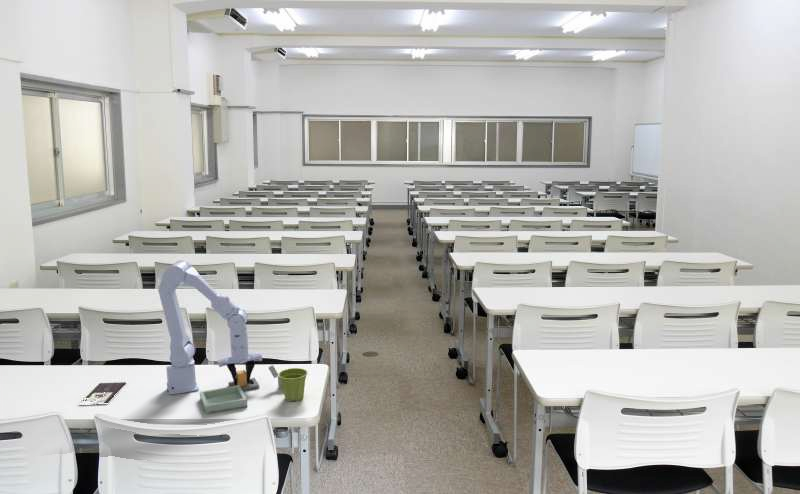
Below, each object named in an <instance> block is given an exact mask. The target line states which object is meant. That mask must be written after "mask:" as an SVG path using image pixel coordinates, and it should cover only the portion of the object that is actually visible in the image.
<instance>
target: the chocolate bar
mask: <svg viewBox="0 0 800 494" xmlns="http://www.w3.org/2000/svg"><path fill="white" fill-rule="evenodd" d="M126 384H127V382H125V381H124V382H122V381H121V382H119V381H118V382H100V383H98V385H96V386H95V387H94V389H93V390H91V391H90V392H89V393H88V394H87V395H86V396H85V398H89V399H88V400H87V399H86V400H85V401H90V402H93V401H96V399H101V400H100V401H99V400H98V401H97V402H96V404H98V403H108V402H109V401H110V400H111V399H112V398H113V397H114V395H115V394H116V393H117V392H118V391H119V390H120V389H121V388H122V387H123V386H126ZM123 388H124V387H123ZM123 388H122V389H123ZM122 389H121V390H122ZM121 390H120V391H121ZM120 391H119V392H120ZM104 392H105V393H104ZM119 392H118V393H119ZM98 393H99V394H98ZM118 393H117V394H118ZM92 394H93V395H92ZM117 394H116V395H117ZM103 395H104V396H103ZM116 395H115V396H116ZM97 396H98V397H97ZM90 398H91V399H90ZM103 398H104V399H103ZM114 398H115V397H114ZM114 398H113V399H114ZM102 399H103V400H102ZM113 399H112V400H113ZM112 400H111V401H112ZM82 401H84V399H82ZM111 401H110V402H111ZM110 402H109V403H110ZM109 403H108V404H109ZM91 404H92V403H91ZM93 404H95V402H94V403H93Z"/></svg>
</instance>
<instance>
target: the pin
mask: <svg viewBox="0 0 800 494" xmlns="http://www.w3.org/2000/svg"><path fill="white" fill-rule="evenodd" d="M236 379H237V385H240V386H246V385H248V384H247V376H246V369H242V370H241V369H240V370H236ZM237 385H236V386H237Z"/></svg>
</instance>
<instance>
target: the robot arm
mask: <svg viewBox="0 0 800 494" xmlns="http://www.w3.org/2000/svg"><path fill="white" fill-rule="evenodd" d="M161 275H162V277H161V279H160V283H159V285H158V294H159V298H160V303H161V306H162V310H163V313H164V318H165V322H166V324H167V329H168V333H169V336H170V343H169V349H170V355H169V361H170V363H171V364H170V365H167V366H166V368H165V369H166V378H167V379H166V381H167V382H166V386H167V387H166V388H167V389H168V394H169V395H176V394H183V393H184V394H186V393H190V392H196V391H199V390H200V389H199V386H198V383H197V377H196V366H195V365H196V364H195V360H194V357H193V356H195V353H196V346H195V344H194V343H193V342H192V341H191V338H190V336H189V335H188V334H187V332H186V327H185V324H184V320H183V316H182V311H181V308H180V304H179V301H178V296H177V295H178V294H177V292H176V290H177V289H178V288H179V286H180V285H181V283H182V286H184V287H185V286H187V287H188V286H189V287H194V288H195V290H197V291H198V292H199V293H201V294H202V295H203V296H204V297H205V298H206V299H208V300H209V301H210V303H211V305H210V307H211V308H212V309H213V310H214V311H215V312H216V313H217V314H218V315H220V317H221V318H223V319H224V320H225V321H227V322H226V325H227V327H228V328H229V336H230V337H229V339H230V354H231V356H229V357H226V358H222V359H218V360H217V362H218V367H219V368H222V367H225V366H226V367H227V368H228V370H229V372H230V375H231V377H232V380H233V381H234V385H236V386H237V379H236V371H237V367H236V365H239V364H244V365H245V371H246V376H247V383H248V384H251V383H250V379H251V376H252V374H253V373H252V372H253V371H254V368H255V365H256V364H255V362H257V361H258V362H262V361H263V355H262V353H258V354H257V353H256V354H255V353H254V354H250V353H249V341H248V339H249V338H248V330H247V324H246V323H247V321H248V313H247V312H246V310H244V309H242V308H241V307H240V306H236V305H235V304H234V302H232V301H231V300H230V299H231V297H230V296H228V295H225V294H219V293H218V292H217V291H216V290H215V289H214V288H213V287H212V286H211V284H210V283H208V282H207V281H206V280H205V278H203V276H201V275H200V273H199V272H198V271H197V270H196V268H195V267H194V266H191V264H190V263H189V262H188V261H186V260H177V261H176V262H174V264H172V265H171V266H169V267H167V269H166V270H165V271H164V272H163V273H162V274H161Z"/></svg>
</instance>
